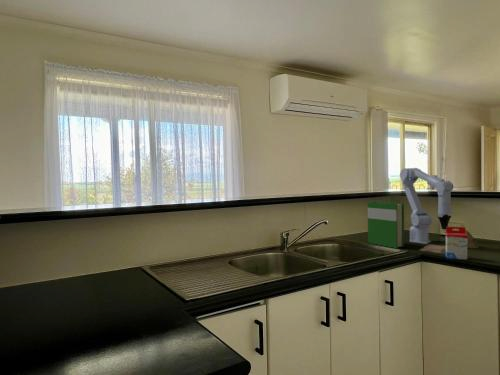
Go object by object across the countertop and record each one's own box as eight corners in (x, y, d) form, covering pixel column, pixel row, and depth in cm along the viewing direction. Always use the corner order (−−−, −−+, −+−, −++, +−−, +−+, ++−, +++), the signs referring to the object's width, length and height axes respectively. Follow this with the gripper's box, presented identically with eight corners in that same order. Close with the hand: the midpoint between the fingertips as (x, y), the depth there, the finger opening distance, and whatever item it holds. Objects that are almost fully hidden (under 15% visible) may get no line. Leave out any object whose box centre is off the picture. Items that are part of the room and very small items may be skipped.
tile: (429, 247, 190) (424, 250, 184) (429, 244, 190) (424, 247, 184) (445, 249, 184) (441, 252, 178) (445, 246, 184) (441, 249, 178)
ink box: (446, 258, 167) (446, 227, 166) (445, 256, 172) (445, 226, 171) (467, 260, 164) (467, 228, 163) (465, 257, 169) (465, 226, 168)
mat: (418, 250, 185) (418, 249, 185) (426, 246, 194) (426, 246, 194) (445, 254, 176) (445, 253, 176) (452, 249, 185) (452, 249, 185)
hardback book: (404, 247, 194) (404, 203, 193) (396, 249, 189) (396, 204, 188) (375, 242, 208) (375, 201, 207) (368, 244, 204) (367, 202, 202)
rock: (483, 243, 188) (464, 237, 197) (480, 231, 184) (461, 226, 193) (472, 257, 185) (453, 251, 193) (469, 246, 181) (450, 240, 190)
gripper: (448, 205, 181) (448, 231, 182) (456, 203, 192) (456, 228, 192) (433, 204, 186) (433, 230, 187) (442, 202, 197) (442, 226, 197)
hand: (444, 229), depth 190 cm, fingers closed
